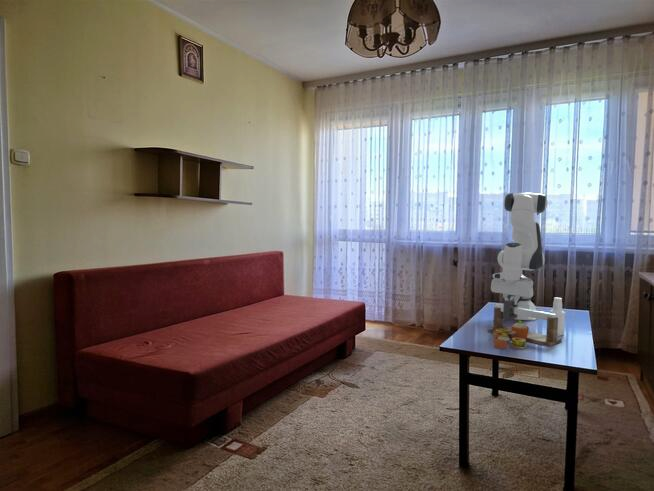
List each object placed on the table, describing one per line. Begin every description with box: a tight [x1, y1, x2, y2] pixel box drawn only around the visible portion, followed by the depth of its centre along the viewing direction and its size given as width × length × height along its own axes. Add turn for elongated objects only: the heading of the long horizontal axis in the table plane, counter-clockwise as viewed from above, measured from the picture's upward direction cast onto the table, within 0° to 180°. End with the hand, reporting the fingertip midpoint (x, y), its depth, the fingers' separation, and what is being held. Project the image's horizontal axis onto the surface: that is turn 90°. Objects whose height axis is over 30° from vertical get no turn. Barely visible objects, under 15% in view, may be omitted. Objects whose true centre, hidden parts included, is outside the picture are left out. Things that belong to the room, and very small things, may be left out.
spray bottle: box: [548, 296, 566, 336], centre depth 208 cm, size 7×7×18 cm
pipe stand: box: [487, 303, 563, 348], centre depth 202 cm, size 30×12×14 cm, turn 38°
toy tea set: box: [492, 320, 530, 350], centre depth 192 cm, size 26×16×10 cm, turn 155°
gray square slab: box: [503, 299, 518, 321], centre depth 207 cm, size 2×9×9 cm, turn 128°
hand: (510, 303), depth 207 cm, fingers closed on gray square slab, 2 cm apart
